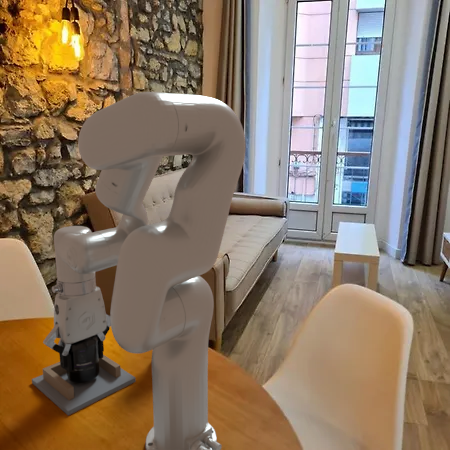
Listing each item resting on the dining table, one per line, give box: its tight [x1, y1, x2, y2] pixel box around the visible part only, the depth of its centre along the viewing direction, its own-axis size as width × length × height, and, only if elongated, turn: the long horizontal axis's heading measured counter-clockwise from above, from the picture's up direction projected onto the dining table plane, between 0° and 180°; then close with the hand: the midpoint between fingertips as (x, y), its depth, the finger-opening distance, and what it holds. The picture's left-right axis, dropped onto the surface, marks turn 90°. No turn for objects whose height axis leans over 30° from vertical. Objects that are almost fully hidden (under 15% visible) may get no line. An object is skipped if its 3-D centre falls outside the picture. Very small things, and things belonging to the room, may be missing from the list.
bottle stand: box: [31, 354, 137, 416], centre depth 96 cm, size 16×16×4 cm
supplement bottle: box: [67, 335, 99, 383], centre depth 95 cm, size 7×7×12 cm
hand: (83, 361), depth 95 cm, fingers closed on supplement bottle, 6 cm apart
